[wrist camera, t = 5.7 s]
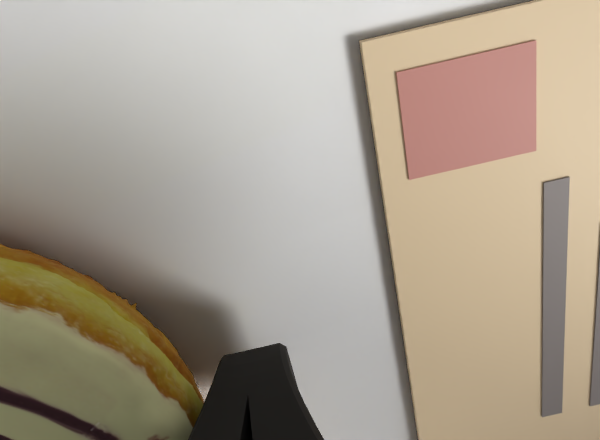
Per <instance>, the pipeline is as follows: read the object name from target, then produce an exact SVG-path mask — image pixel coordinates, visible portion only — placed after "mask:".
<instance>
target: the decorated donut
mask: <svg viewBox="0 0 600 440" xmlns="http://www.w3.org/2000/svg"><path fill="white" fill-rule="evenodd" d="M136 305H137V303H136V304H133V305H130V304H129V303H128V300H127V299H122V298H121V297H120V296H117V295H116V293H115V292H114V293H112V292H110V291H107V290H106V289H105V288H104V287H103V286H102V285H101V284H100V283H98V282H97V281H95V280H93V279H92V278H91V277H90V276H88V275H83V274H81V273H78V272H76V271H75V270H74V269H72V268H69V267H66V266H64V265H62V264H61V263H60V262H59V261H56V260H52V259H47V258H45V257H43V256H41V255H38V254H34V253H33V252H31V251H28V250H20V249H12V248H9V247H6V246H4V245H2V244H0V440H188V438H189V436H190V434H191V432H192V429H193V427H194V425H195V423H196V421H197V418H198V416H199V414H200V412H201V409H202V407H203V404H204V401H203V398H202V396H201V394H200V392H199V390H198V388H197V385H196V383H195V381H194V377H193V375H192V373H191V371H190V370H189V369H188V368H187V366H186V364H185V363H184V361H183V360H182V359H181V358H180V356H179V354H178V351H177V349H176V348H175V347H174V346H173V345H172V343H171V342H170V341H169V340H168V338H167V337H166V336H165V335H164V334H163V333H162V332H161V331H160V330H159V329H158V328H155V327H154V326H153V324H152V323H151V322H150V321H149V320H147V319H146V318H145V317H144V316H143V315H142V314H141V313H140V312H139V311H137V310H136Z"/></svg>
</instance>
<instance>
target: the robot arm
mask: <svg viewBox="0 0 600 440" xmlns="http://www.w3.org/2000/svg"><path fill="white" fill-rule="evenodd" d="M188 440H324V439H323V437H322V435H321V433H320V432H319V430H318V428H317V426H316V424H315V422H314V421H313V419H312V417H311V415H310V413H309V411H308V409H307V407H306V405H305V403H304V401H303V399H302V397H301V395H300V392H299V390H298V387H297V383H296V380H295V376H294V373H293V369H292V366H291V362H290V358H289V355H288V351H287V348H286V346H284V345H282V344H280V343H278V344H273V345H269V346H265V347H260V348H256V349H251V350H247V351H243V352H238V353H234V354H229V355H225V356H224V357H223V358H222V359H221V361H220V363H219V366H218V369H217V371H216V374H215V377H214V379H213V382H212V385H211V387H210V390H209V392H208V395H207V397H206V400H205V402H204V404H203V407H202V409H201V412H200V414H199V416H198V418H197V421H196V423H195V425H194V427H193V429H192V432H191V434H190V436H189V438H188Z"/></svg>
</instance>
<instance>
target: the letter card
mask: <svg viewBox="0 0 600 440" xmlns="http://www.w3.org/2000/svg"><path fill="white" fill-rule="evenodd" d="M359 43H360V50H361V57H362V64H363V70H364V77H365V84H366V91H367V97H368V104H369V111H370V118H371V124H372V131H373V138H374V145H375V151H376V158H377V165H378V172H379V178H380V185H381V192H382V199H383V205H384V212H385V219H386V226H387V232H388V239H389V246H390V252H391V259H392V266H393V273H394V279H395V286H396V293H397V300H398V306H399V313H400V320H401V327H402V333H403V340H404V347H405V354H406V360H407V367H408V374H409V381H410V387H411V394H412V401H413V408H414V414H415V421H416V428H417V435H418V440H600V0H533V1H529V2H524V3H520V4H516V5H511V6H507V7H503V8H498V9H494V10H490V11H485V12H481V13H477V14H472V15H468V16H464V17H460V18H455V19H451V20H447V21H442V22H438V23H434V24H429V25H425V26H421V27H416V28H412V29H408V30H403V31H399V32H395V33H390V34H386V35H382V36H377V37H373V38H369V39H365V40H360V41H359Z"/></svg>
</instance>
